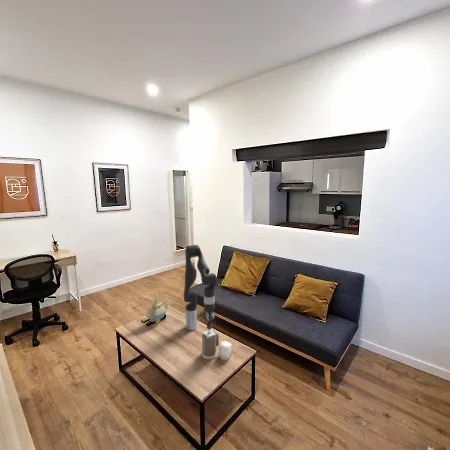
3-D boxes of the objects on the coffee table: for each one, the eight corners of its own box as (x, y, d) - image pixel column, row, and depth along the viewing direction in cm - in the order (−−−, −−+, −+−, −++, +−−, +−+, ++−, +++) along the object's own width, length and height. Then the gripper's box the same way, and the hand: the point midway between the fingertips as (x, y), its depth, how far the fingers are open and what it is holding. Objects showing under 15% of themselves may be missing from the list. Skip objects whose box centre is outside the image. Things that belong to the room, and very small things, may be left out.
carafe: (199, 352, 182) (198, 331, 179) (214, 346, 189) (214, 326, 186) (206, 361, 173) (206, 339, 170) (221, 354, 179) (222, 333, 177)
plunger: (205, 346, 180) (205, 324, 177) (210, 344, 182) (210, 322, 179) (208, 349, 177) (208, 326, 174) (212, 347, 179) (212, 325, 176)
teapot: (150, 331, 207) (149, 297, 203) (142, 327, 214) (140, 293, 209) (172, 319, 226) (171, 288, 222) (164, 315, 233) (163, 285, 228)
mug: (216, 355, 179) (217, 343, 178) (228, 350, 184) (228, 339, 183) (223, 361, 172) (223, 349, 171) (234, 356, 178) (235, 344, 176)
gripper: (200, 299, 178) (200, 321, 180) (209, 306, 167) (209, 330, 169) (209, 296, 182) (209, 319, 184) (218, 303, 171) (218, 327, 173)
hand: (209, 324), depth 177 cm, fingers closed
